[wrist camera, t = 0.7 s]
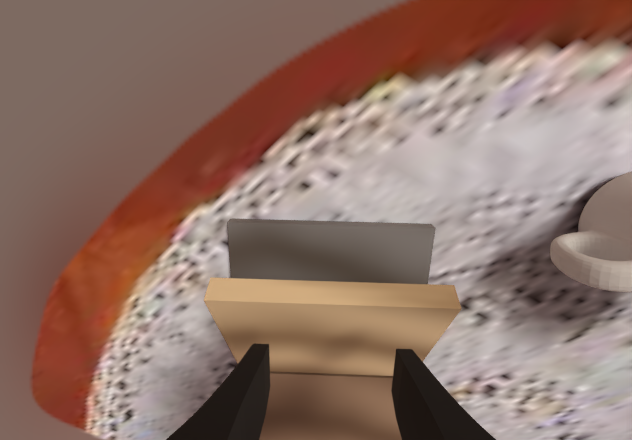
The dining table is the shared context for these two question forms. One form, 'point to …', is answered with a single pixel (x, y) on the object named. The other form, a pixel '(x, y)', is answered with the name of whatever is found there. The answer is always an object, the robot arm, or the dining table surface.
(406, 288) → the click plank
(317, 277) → the floor board
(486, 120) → the dining table surface
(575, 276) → the cup
